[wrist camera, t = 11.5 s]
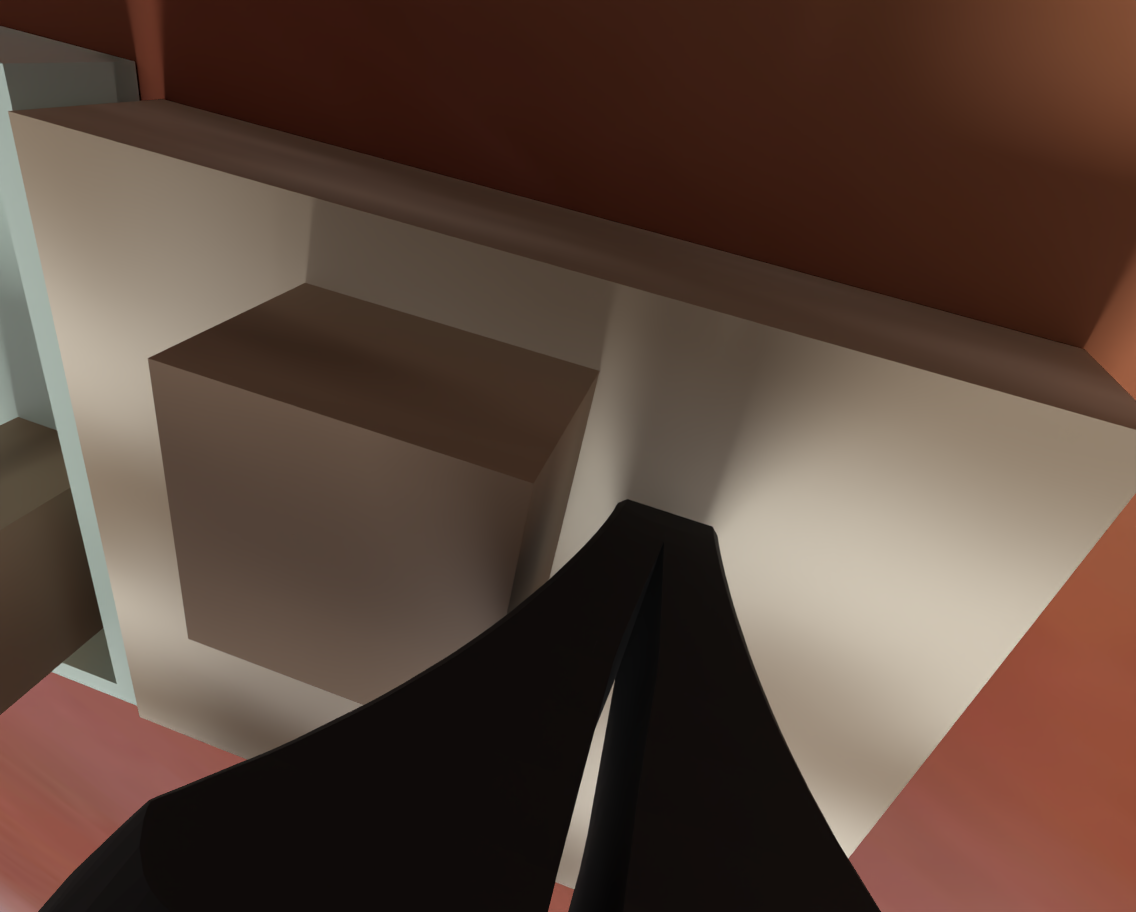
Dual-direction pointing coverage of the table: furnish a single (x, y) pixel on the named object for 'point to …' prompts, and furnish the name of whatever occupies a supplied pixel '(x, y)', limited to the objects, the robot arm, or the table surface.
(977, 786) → the table surface
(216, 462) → the walnut block
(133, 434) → the maple board
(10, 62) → the box
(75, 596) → the walnut block
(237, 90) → the table surface
